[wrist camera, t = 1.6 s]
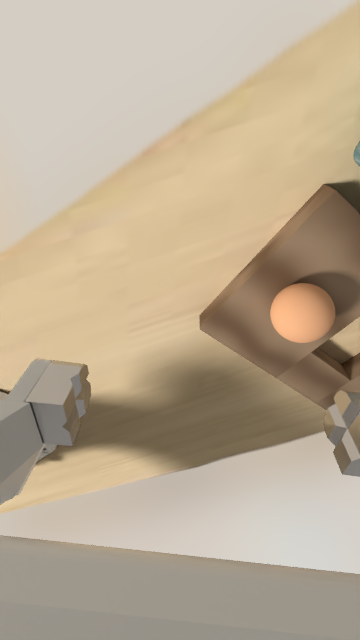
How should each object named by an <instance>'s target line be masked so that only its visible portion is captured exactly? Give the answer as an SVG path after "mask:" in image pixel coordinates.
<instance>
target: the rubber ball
mask: <svg viewBox="0 0 360 640" xmlns="http://www.w3.org/2000/svg"><path fill="white" fill-rule="evenodd" d="M270 317H271V321H272V324H273V326H274V328H275V330H276V331H277V332H278V333H279V334H280V335H281V336H282V337H284V338H285V339H287V340H290V341H292V342H297V343H308V342H313V341H316V340H318V339H320V338H321V337H323V336H324V335H325V334H326V333H327V332H328V331H329V330H330V329H331V327H332V325H333V323H334V319H335V306H334V303H333V301H332V299H331V297H330V296H329V294H328V293H327V292H326V291H325V290H323V289H322V288H320V287H318V286H316V285H313V284H309V283H298V284H293V285H290V286H288V287H286V288H284V289H283V290H282V291H280V292H279V293H278V294H277V296H276V297H275V299H274V300H273V303H272V305H271V310H270Z"/></svg>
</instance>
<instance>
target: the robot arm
mask: <svg viewBox="0 0 360 640" xmlns="http://www.w3.org/2000/svg"><path fill="white" fill-rule="evenodd" d="M88 374H89V372H88V366H87V365H85V364H79V363H71V362H63V361H55V360H53V361H52V360H45V359H36V360H34V361H33V362H32V363H31V364H30V365H29V367H28V368H27V370H26V371H25V372H24V374H23V375H22V377H21V378H20V379H19V381H18V382H17V384H16V385H15V386H14V388H13V389H12V390H11V392H10V393H9V394H6V393H3V392H0V505H1V504H2V503H4V502H5V501H7V500H9V499H12V498H13V497H14V496H15V495H18V494H19V493H20V492H21V490H22V489H23V487H24V485H25V483H26V481H27V479H28V477H29V475H30V473H31V471H32V469H33V468H34V466H35V464H36V462H37V461H38V460H40V459H41V458H43V457H45V456H46V455H48V454H49V453H51V452H53V451H54V450H55V448H56V447H57V445H66V446H73V444H74V441H75V439H76V436H77V434H78V431H79V429H80V426H81V425H80V420H79V418H80V417H82V416H83V415H84V414H86V411H87V409H88V406H89V402H90V397H91V385H90V383H89V382H88V381H87V380H86V379H87V376H88ZM334 401H335V403H336V404H334V405H332V406H331V407H329V408H328V409H327V411H326V413H325V415H324V428H325V432H326V435H327V438H328V439H329V440H330V441H331V442H332V443H333V444H334V445H335V446H336V447H335V449H334V452H333V453H334V455H335V458H336V460H337V463H338V465H339V468H340V470H341V473H342V474H345V475H352V476H360V392H357V391H347V390H340V391H339V392H337V393H336V395H335V397H334ZM0 640H360V574H353V573H343V572H334V571H325V570H316V569H307V568H306V569H305V568H297V567H288V566H279V565H270V564H261V563H251V562H242V561H233V560H223V559H215V558H205V557H195V556H187V555H178V554H168V553H159V552H150V551H140V550H131V549H122V548H112V547H104V546H94V545H85V544H76V543H67V542H57V541H48V540H39V539H28V538H21V537H11V536H2V535H0Z"/></svg>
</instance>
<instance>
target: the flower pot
mask: <svg viewBox="0 0 360 640" xmlns="http://www.w3.org/2000/svg"><path fill="white" fill-rule="evenodd" d="M354 160H355V162H356V163H357V164H358V165H359V166H360V142H359V143H358V145H357V146H356V148H355V150H354Z"/></svg>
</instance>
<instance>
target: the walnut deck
mask: <svg viewBox="0 0 360 640" xmlns="http://www.w3.org/2000/svg"><path fill="white" fill-rule="evenodd" d="M298 283H309V284H313V285H316V286H318V287H320V288H322V289H323V290H325V291H326V292H327V293H328V294H329V296H330V297H331V299H332V301H333V303H334V306H335V319H334V323H333V325H332V327H331V329H330V330H329V331H328V332H327V333H326V334H325V335H324V336H323V337H321V338H320V339H318V340H316V341H313V342H308V343H297V342H292V341H290V340H287V339H285V338H284V337H282V336H281V335H280V334H279V333H278V332H277V331H276V330H275V328H274V326H273V324H272V321H271V317H270V310H271V305H272V303H273V300H274V299H275V297H276V296H277V294H278V293H279V292H280V291H282V290H283V289H284V288H286V287H288V286H290V285H293V284H298ZM359 316H360V214H359V213H358V212H357V211H356V210H355V209H354V208H353V207H352V206H351V205H350V204H349V203H348V202H347V201H346V200H345V199H344V198H343V197H342V196H341V195H340V194H339V193H338V192H337V191H336V190H335V189H333V188H331V187H329V186H327V185H325V184H323V185H322V187H321V188H320V189H319V190H318V191H317V192H316V193H315V194H314V195H313V196H312V197H311V198H310V199H309V200H308V201H307V202H306V203H305V205H304V206H303V207H302V208H301V209H300V210H299V211H298V212H297V213H296V214H295V215H294V216H293V217H292V218H291V219H290V220H289V221H288V223H287V224H286V225H285V226H284V227H283V228H282V229H281V230H280V231H279V232H278V233H277V234H276V235H275V236H274V237H273V238H272V239H271V240H270V242H269V243H268V244H267V245H266V246H265V247H264V248H263V249H262V250H261V251H260V252H259V253H258V254H257V255H256V256H255V257H254V258H253V260H252V261H251V262H250V263H249V264H248V265H247V266H246V267H245V268H244V269H243V270H242V271H241V272H240V273H239V274H238V275H237V276H236V278H235V279H234V280H233V281H232V282H231V283H230V284H229V285H228V286H227V287H226V288H225V289H224V290H223V291H222V292H221V293H220V294H219V296H218V297H217V298H216V299H215V300H214V301H213V302H212V303H211V304H210V305H209V306H208V307H207V308H206V309H205V310H204V311H203V312H202V314H201V315H200V330H202V331H203V332H205V333H207V334H208V335H210V336H211V337H213V338H214V339H216V340H217V341H219V342H221V343H222V344H224V345H225V346H227V347H228V348H230V349H232V350H233V351H235V352H236V353H238V354H239V355H241V356H243V357H244V358H246V359H247V360H249V361H250V362H252V363H254V364H255V365H257V366H258V367H260V368H261V369H263V370H265V371H266V372H268V373H269V374H271V375H272V376H274V377H275V378H277V379H279V380H280V381H282V382H283V383H285V384H286V385H288V386H290V387H291V388H293V389H294V390H296V391H297V392H299V393H301V394H302V395H304V396H305V397H307V398H308V399H310V400H312V401H313V402H315V403H316V404H318V405H319V406H321V407H322V408H324V409H326V410H327V409H328V408H329V407H331V406H332V405H334V404H336V403H335V401H334V397H335V395H336V393H337V392H339V391H340V390H347V391H357V392H360V353H359V354H357V355H356V356H354V357H353V358H351V359H350V360H348V361H347V362H345V363H344V364H342V365H341V364H340V363H338V362H337V361H335V360H334V359H333V358H331V357H330V356H329V355H327V354H326V353H324V352H323V351H322V350H320V349H319V348H318V347H319V346H320V345H322V344H323V343H324V342H326V341H327V340H328V339H330V338H331V337H332V336H334V335H335V334H336V333H338V332H339V331H340V330H342V329H343V328H345V327H346V326H347V325H349V324H350V323H351V322H353V321H354V320H355V319H357V318H358V317H359Z"/></svg>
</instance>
